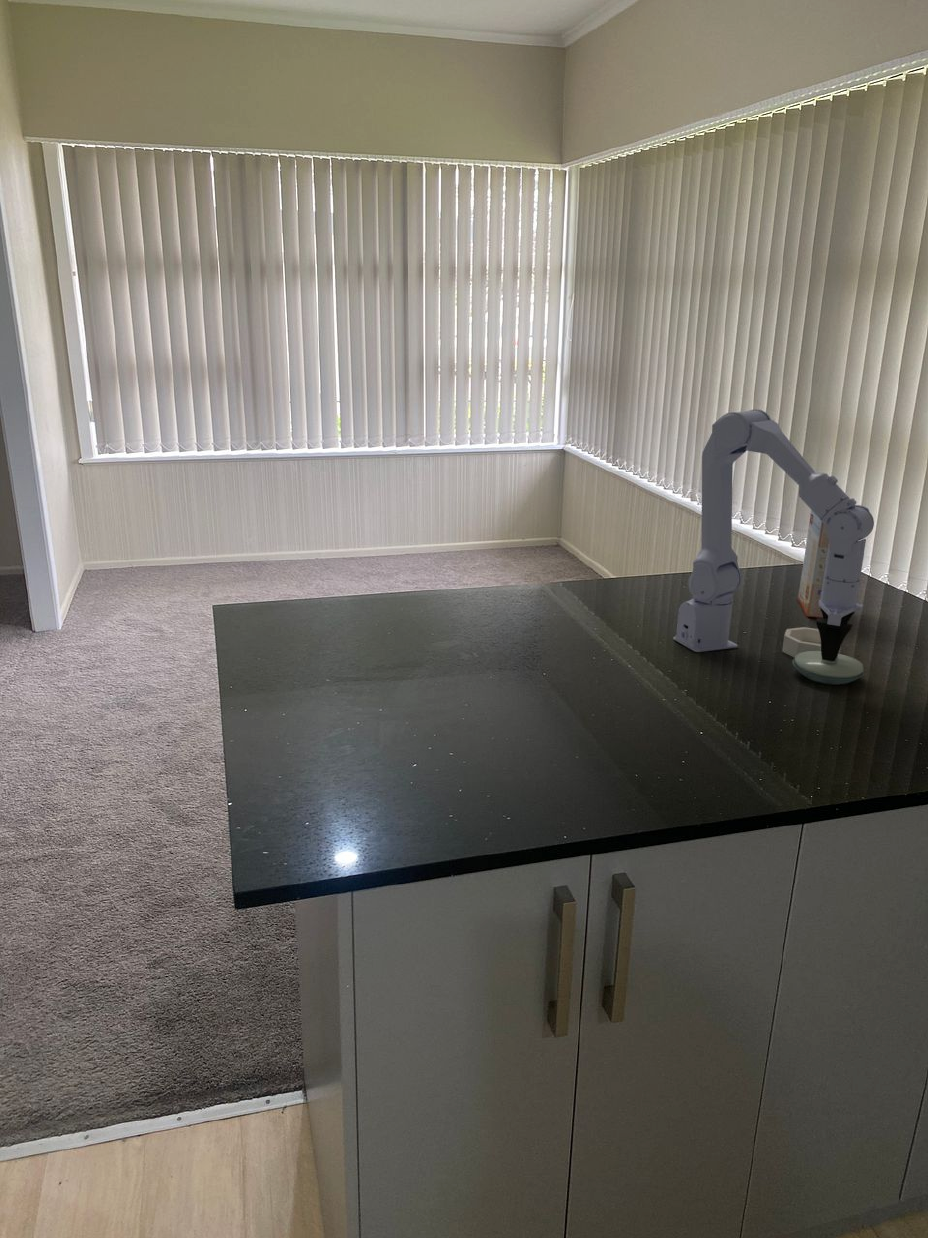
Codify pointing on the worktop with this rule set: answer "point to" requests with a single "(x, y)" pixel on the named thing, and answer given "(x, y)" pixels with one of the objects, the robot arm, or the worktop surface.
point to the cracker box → (813, 567)
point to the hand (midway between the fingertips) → (829, 653)
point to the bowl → (801, 641)
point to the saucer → (826, 679)
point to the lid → (829, 665)
